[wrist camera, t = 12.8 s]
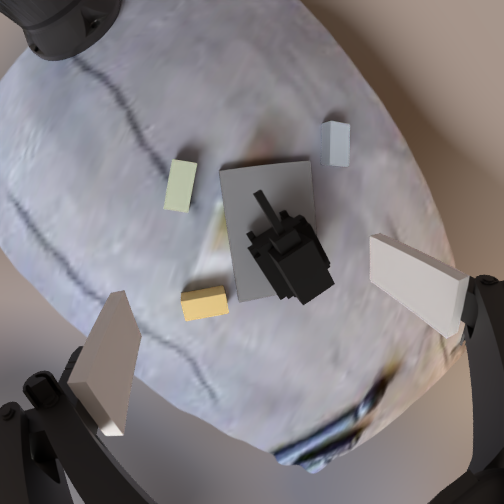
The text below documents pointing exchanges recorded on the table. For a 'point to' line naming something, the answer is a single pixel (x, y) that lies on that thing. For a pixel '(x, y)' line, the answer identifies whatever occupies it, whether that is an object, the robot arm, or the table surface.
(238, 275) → the felt pad
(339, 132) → the dusty blue brick
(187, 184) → the sage brick
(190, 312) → the mustard brick
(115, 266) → the table surface
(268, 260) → the toy
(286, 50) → the table surface
